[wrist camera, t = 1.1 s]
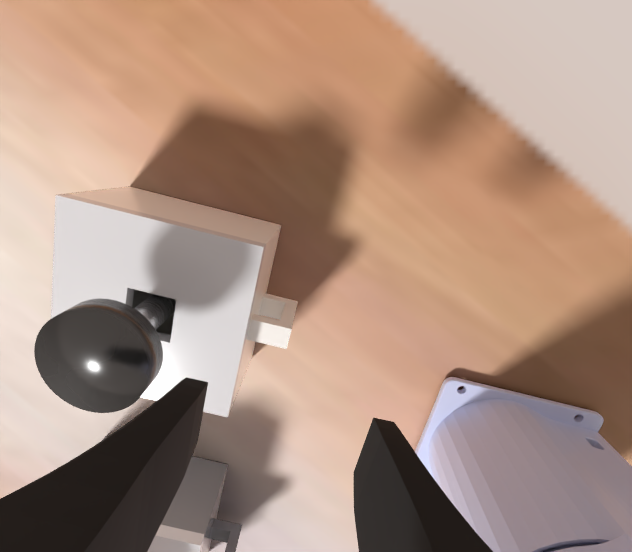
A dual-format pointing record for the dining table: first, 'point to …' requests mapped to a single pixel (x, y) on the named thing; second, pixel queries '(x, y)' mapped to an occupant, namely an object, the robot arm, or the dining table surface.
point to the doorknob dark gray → (103, 352)
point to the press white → (176, 280)
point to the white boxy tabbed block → (196, 512)
